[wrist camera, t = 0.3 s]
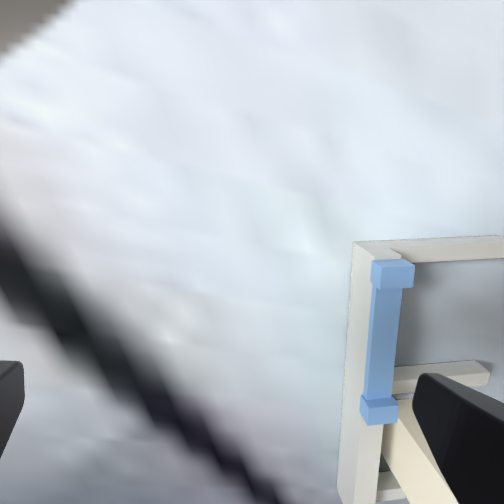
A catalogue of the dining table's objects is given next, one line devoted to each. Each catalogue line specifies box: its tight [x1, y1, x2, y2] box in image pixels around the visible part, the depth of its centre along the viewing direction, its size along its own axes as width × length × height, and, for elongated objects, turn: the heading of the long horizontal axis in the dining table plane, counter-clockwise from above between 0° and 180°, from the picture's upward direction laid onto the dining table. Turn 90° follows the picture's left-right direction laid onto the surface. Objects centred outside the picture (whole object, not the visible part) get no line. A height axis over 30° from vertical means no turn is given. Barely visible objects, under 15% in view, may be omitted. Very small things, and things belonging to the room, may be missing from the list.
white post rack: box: [337, 235, 504, 504], centre depth 25 cm, size 19×10×4 cm, turn 1°
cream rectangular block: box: [381, 399, 458, 504], centre depth 24 cm, size 4×4×9 cm
